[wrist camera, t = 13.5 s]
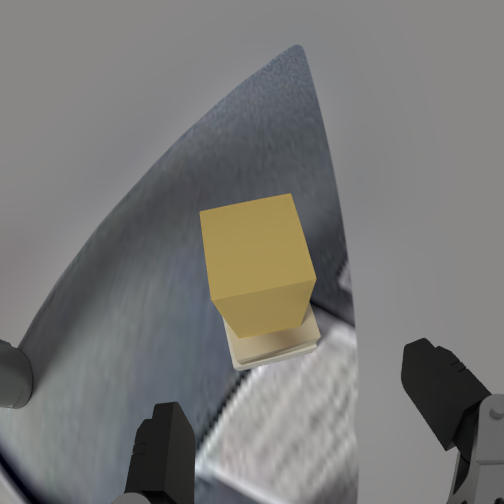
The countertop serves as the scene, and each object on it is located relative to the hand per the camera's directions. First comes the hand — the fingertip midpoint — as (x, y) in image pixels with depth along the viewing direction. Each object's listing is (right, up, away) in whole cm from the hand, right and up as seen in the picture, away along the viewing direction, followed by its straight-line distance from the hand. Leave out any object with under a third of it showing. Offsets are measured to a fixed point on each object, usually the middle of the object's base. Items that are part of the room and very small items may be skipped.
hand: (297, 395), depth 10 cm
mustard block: (-1, +1, +16) cm, 16 cm away
